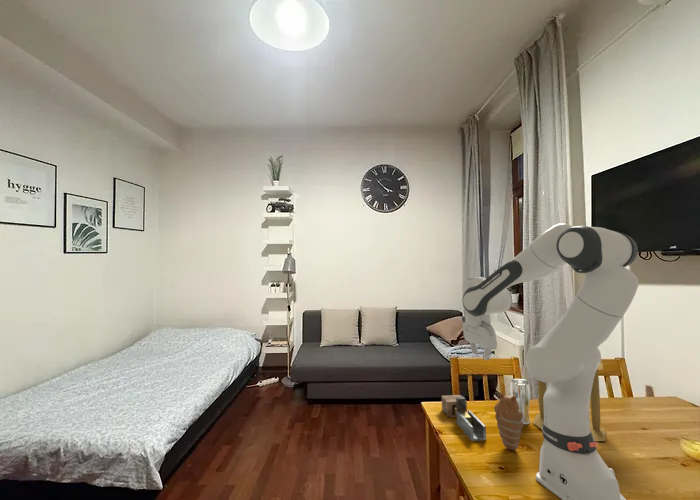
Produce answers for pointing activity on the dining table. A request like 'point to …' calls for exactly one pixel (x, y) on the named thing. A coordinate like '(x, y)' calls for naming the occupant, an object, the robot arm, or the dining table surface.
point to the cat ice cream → (509, 420)
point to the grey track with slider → (472, 427)
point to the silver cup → (521, 396)
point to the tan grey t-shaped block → (461, 408)
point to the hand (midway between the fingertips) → (480, 356)
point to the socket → (449, 404)
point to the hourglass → (595, 427)
